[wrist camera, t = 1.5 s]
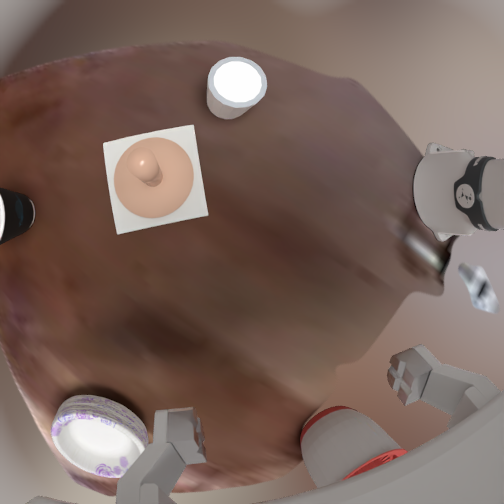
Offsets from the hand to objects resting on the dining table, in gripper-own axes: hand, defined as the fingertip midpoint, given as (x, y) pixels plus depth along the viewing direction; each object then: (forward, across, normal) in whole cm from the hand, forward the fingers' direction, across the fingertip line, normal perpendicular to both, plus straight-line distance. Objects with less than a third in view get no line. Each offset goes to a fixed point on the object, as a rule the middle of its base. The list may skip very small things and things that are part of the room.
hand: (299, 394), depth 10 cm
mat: (+30, +8, -6) cm, 32 cm away
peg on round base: (+30, +8, -6) cm, 32 cm away
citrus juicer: (+24, -12, +43) cm, 51 cm away
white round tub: (+34, -2, -15) cm, 37 cm away
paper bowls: (+22, +26, +27) cm, 44 cm away
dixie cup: (+28, +28, -6) cm, 41 cm away
